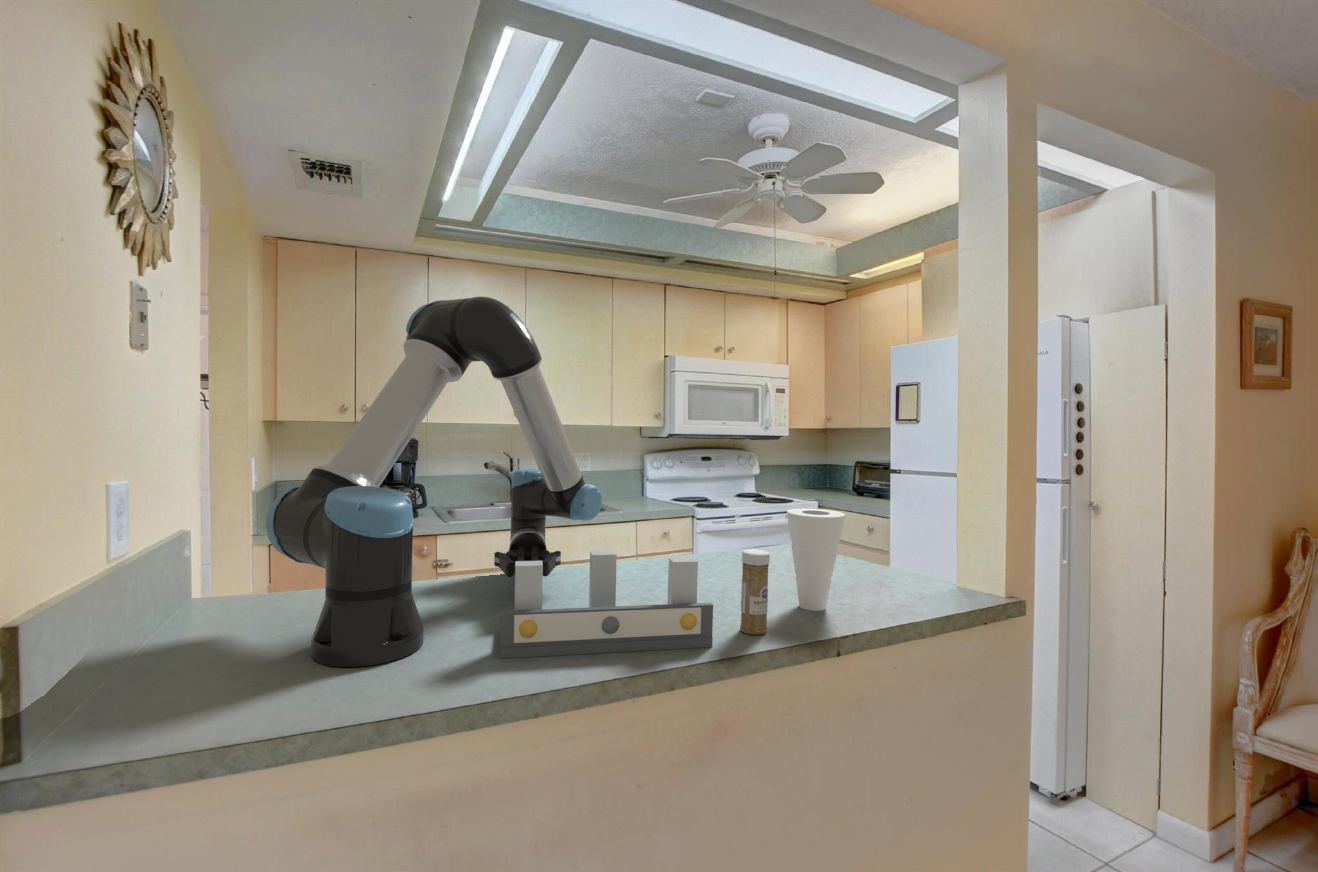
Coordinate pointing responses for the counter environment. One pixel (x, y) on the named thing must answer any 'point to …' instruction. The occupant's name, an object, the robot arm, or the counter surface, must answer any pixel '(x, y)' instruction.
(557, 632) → the key console
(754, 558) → the sprinkles bottle
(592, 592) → the key mid
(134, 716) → the counter surface
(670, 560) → the key far
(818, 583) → the cup
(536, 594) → the key near
